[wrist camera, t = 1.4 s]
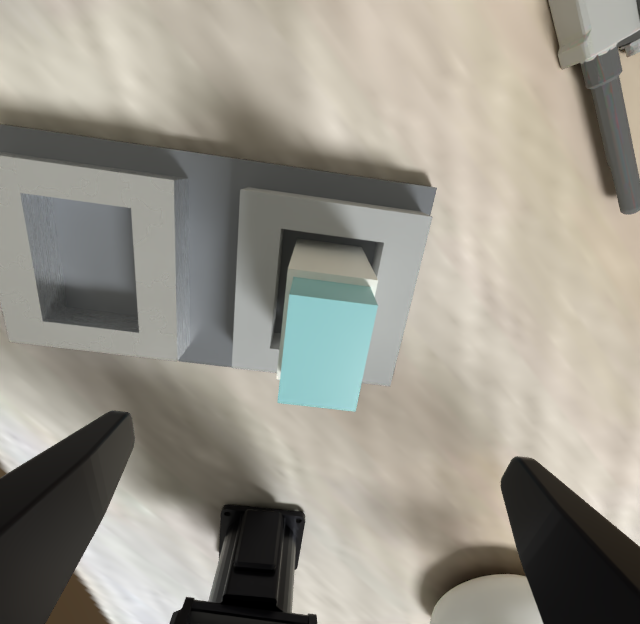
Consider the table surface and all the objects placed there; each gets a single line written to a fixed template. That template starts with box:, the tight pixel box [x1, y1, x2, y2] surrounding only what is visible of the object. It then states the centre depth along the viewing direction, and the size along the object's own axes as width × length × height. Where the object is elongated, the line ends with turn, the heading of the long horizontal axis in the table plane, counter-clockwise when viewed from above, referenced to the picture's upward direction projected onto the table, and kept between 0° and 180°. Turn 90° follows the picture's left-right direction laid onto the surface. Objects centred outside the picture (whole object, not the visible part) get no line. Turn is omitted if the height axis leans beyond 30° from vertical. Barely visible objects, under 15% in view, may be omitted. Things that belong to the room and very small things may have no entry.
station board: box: [0, 124, 437, 367], centre depth 20 cm, size 22×12×1 cm, turn 82°
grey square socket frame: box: [232, 187, 432, 386], centre depth 19 cm, size 9×10×2 cm
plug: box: [276, 238, 378, 412], centre depth 16 cm, size 4×5×8 cm
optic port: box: [0, 152, 190, 361], centre depth 19 cm, size 9×10×2 cm
